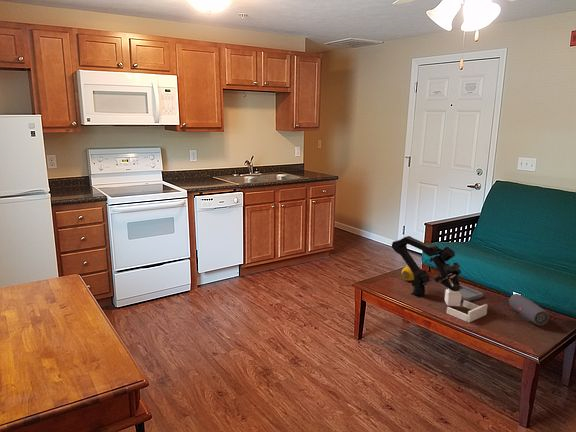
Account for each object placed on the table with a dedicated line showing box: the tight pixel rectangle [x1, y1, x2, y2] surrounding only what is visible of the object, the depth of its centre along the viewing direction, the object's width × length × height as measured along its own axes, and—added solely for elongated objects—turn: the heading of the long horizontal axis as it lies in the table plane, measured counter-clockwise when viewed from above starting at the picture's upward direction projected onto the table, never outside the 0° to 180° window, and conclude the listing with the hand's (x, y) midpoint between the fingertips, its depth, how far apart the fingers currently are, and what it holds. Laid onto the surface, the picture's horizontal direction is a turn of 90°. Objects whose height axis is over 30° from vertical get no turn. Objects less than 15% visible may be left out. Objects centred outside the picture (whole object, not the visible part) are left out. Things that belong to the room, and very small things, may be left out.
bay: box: [446, 300, 489, 323], centre depth 241 cm, size 14×17×6 cm
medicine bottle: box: [444, 282, 462, 307], centre depth 247 cm, size 7×7×12 cm
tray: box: [443, 284, 484, 302], centre depth 267 cm, size 16×16×2 cm
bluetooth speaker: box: [508, 293, 550, 326], centre depth 236 cm, size 23×9×10 cm, turn 5°
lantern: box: [398, 265, 425, 282], centre depth 291 cm, size 10×10×30 cm
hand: (456, 289), depth 245 cm, fingers closed on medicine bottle, 6 cm apart
